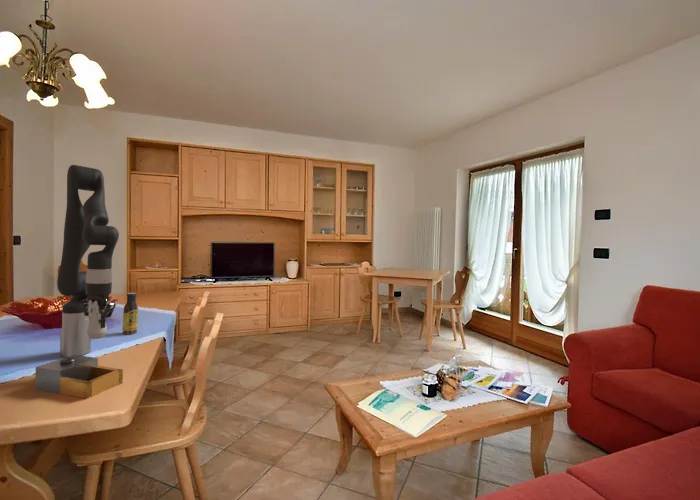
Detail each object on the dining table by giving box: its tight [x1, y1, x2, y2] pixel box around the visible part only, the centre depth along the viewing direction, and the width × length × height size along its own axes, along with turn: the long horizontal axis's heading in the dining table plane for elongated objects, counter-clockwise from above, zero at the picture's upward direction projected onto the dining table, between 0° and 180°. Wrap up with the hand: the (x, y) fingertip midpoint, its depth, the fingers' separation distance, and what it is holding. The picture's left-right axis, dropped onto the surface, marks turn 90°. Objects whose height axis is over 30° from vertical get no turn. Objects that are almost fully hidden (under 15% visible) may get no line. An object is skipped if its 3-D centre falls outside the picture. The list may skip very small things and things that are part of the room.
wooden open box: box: [34, 355, 124, 399], centre depth 111 cm, size 24×12×8 cm, turn 76°
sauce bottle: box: [122, 292, 139, 335], centre depth 169 cm, size 6×6×20 cm
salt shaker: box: [87, 302, 108, 340], centre depth 123 cm, size 6×6×13 cm
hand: (97, 328), depth 123 cm, fingers closed on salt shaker, 3 cm apart
